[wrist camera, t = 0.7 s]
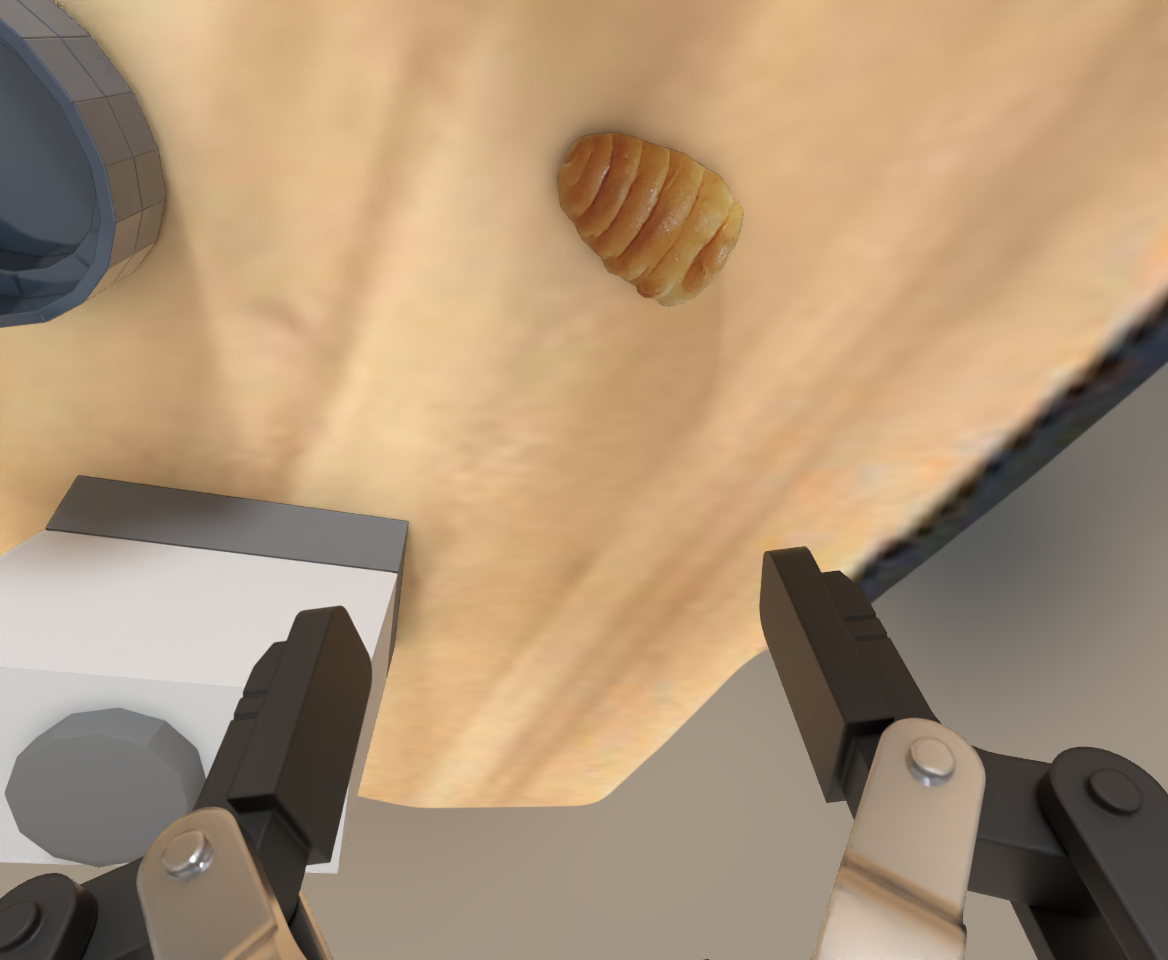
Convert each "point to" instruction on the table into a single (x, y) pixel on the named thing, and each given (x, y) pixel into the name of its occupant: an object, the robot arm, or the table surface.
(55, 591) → the alarm clock
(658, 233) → the pastry
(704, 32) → the table surface
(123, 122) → the bowl
